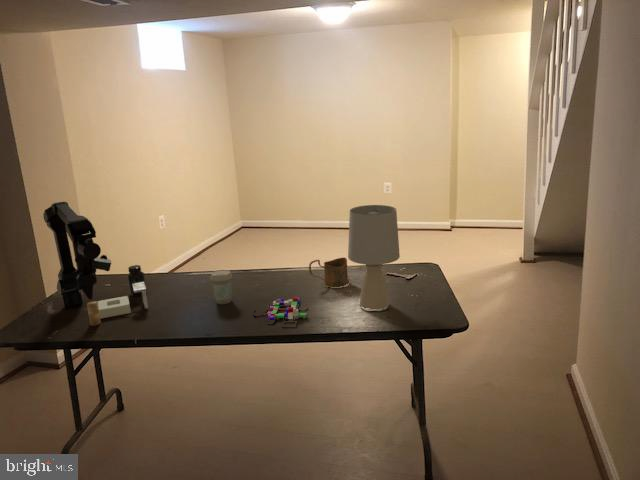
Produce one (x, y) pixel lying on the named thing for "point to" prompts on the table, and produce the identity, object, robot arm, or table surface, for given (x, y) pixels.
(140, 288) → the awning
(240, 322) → the table surface
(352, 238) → the lamp
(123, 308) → the socket block
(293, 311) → the building block set
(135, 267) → the supplement bottle
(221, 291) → the coffee cup
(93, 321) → the peg
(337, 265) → the mug
